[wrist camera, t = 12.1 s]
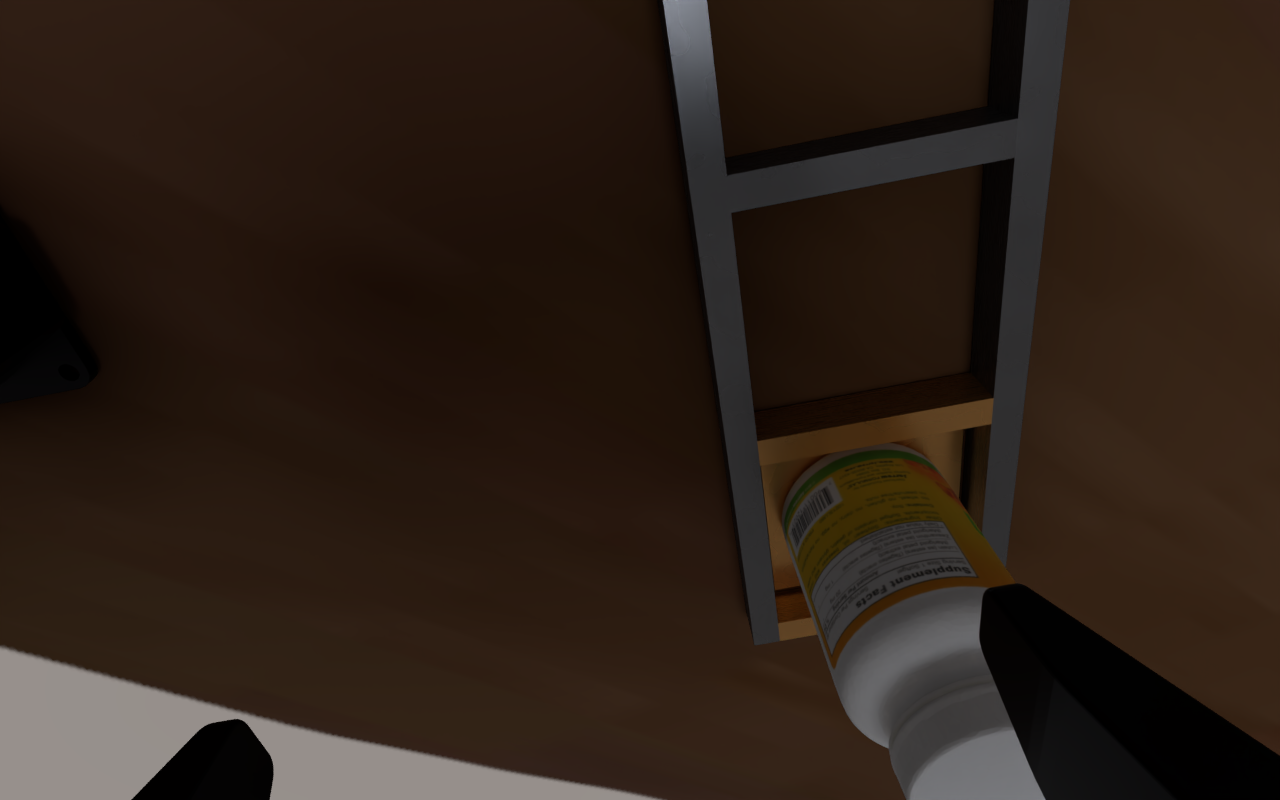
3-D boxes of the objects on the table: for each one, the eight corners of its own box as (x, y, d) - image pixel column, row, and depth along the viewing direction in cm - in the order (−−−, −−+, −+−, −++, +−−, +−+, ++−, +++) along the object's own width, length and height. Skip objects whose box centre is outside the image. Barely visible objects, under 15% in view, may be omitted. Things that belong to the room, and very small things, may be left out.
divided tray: (746, 612, 27) (754, 645, 26) (624, -223, 15) (628, -239, 13) (981, 570, 27) (1001, 602, 26) (1061, -318, 14) (1108, -343, 13)
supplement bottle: (943, 544, 26) (1113, 826, 18) (790, 579, 26) (886, 871, 18) (938, 418, 23) (1137, 683, 15) (767, 459, 23) (867, 740, 15)
